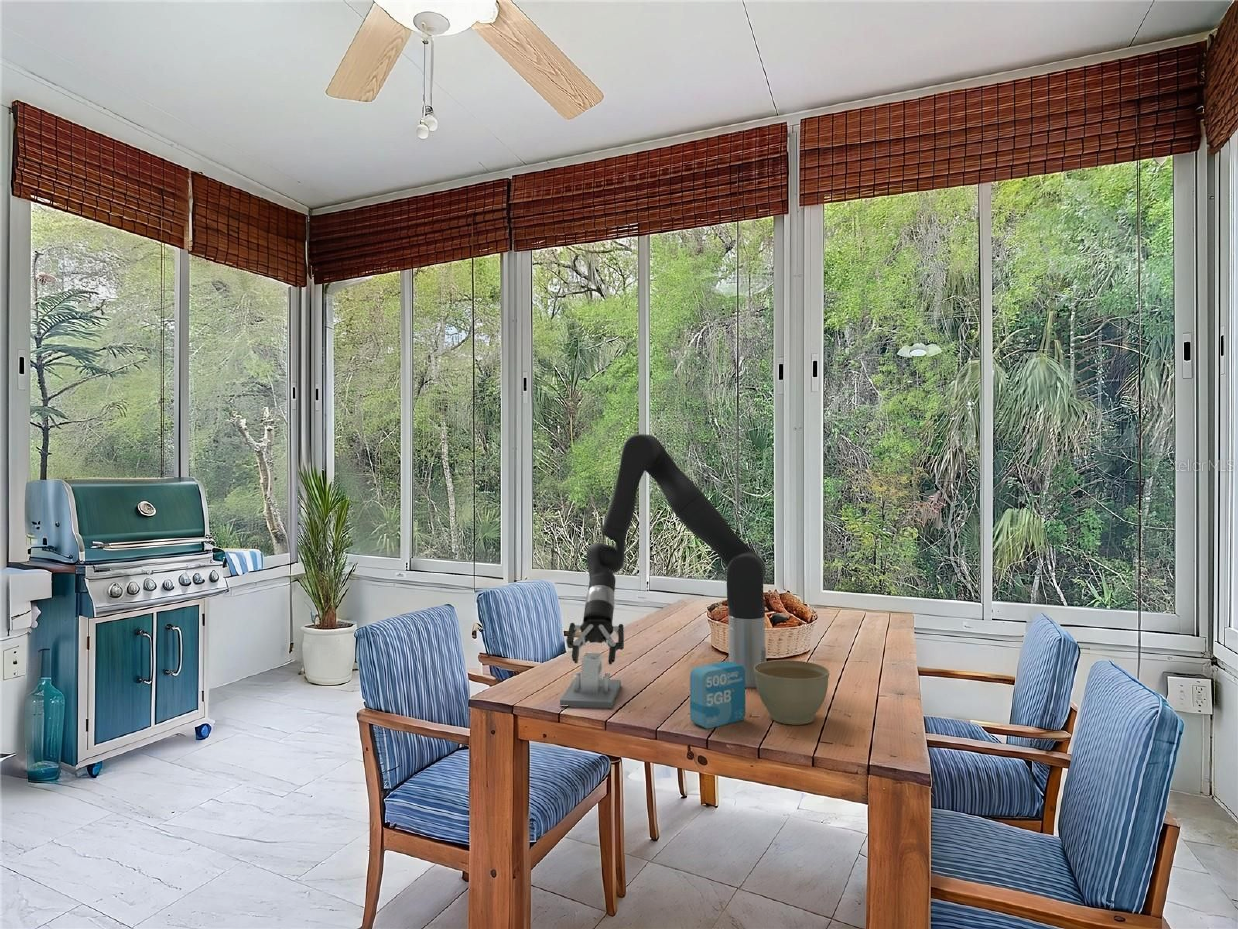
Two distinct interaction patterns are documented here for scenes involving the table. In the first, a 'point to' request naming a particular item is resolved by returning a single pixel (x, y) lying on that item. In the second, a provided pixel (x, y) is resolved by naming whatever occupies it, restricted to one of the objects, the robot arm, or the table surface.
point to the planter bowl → (791, 689)
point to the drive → (591, 673)
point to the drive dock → (591, 694)
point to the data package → (717, 694)
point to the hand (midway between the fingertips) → (592, 662)
